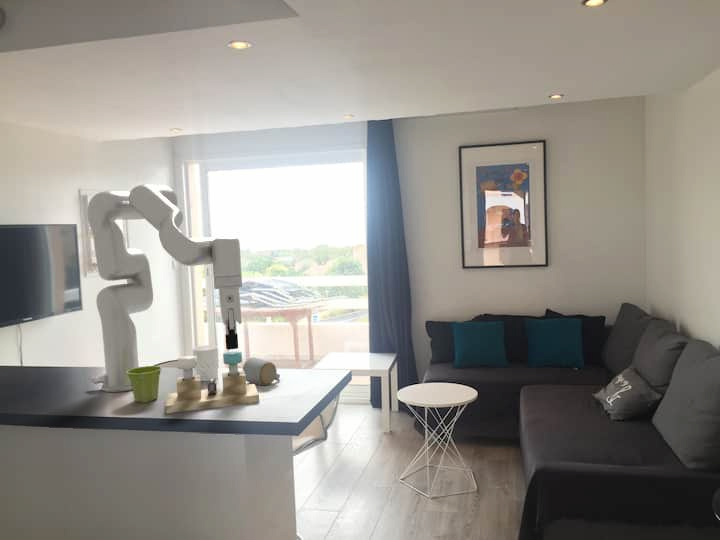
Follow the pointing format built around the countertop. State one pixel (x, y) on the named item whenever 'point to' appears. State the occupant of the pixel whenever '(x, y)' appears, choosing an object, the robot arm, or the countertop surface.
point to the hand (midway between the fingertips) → (232, 348)
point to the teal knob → (232, 361)
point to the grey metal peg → (212, 387)
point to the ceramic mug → (260, 371)
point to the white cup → (206, 362)
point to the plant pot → (145, 382)
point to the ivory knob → (187, 366)
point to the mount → (196, 398)
